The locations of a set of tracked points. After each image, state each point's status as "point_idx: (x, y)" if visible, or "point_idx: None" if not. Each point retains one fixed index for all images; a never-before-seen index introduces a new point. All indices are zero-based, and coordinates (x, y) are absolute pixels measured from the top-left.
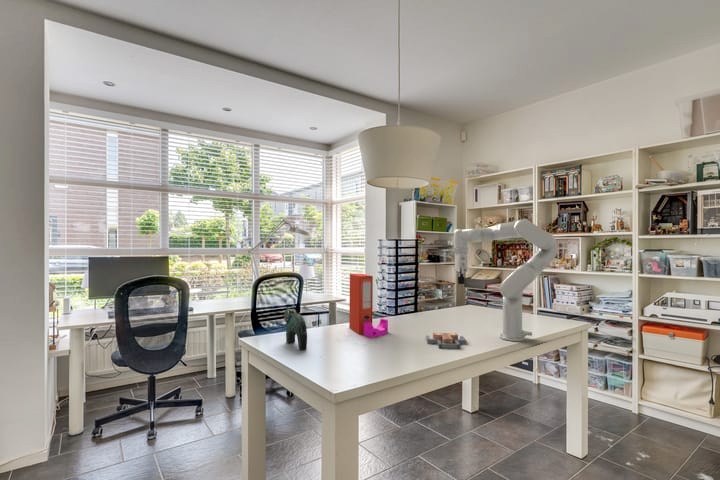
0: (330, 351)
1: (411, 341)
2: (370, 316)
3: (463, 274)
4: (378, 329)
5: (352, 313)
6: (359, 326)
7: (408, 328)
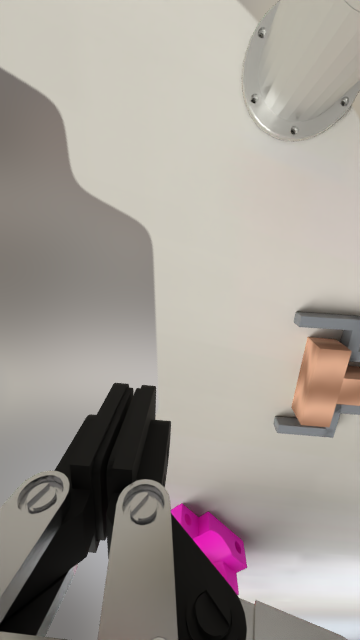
0: (353, 610)
1: (293, 463)
2: None
3: (225, 582)
4: (205, 540)
5: None
6: None
7: None
